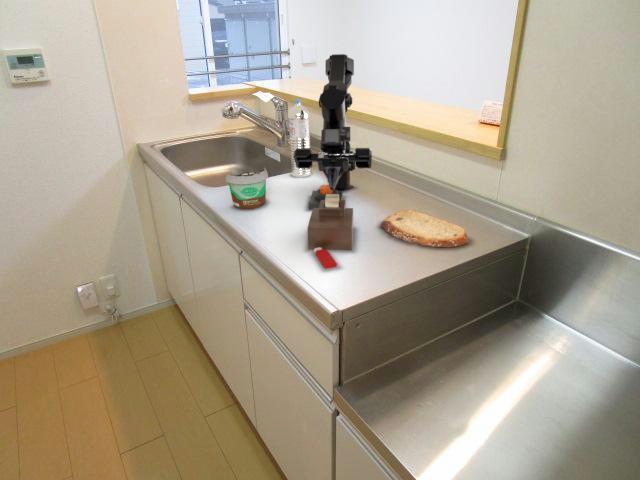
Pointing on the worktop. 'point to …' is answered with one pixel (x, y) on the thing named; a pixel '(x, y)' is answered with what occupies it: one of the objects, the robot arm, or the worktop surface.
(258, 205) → the food container
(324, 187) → the power button
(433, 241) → the bread slice
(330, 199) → the beige block
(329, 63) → the robot arm
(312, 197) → the power block
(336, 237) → the stand
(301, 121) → the water bottle
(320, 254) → the lighter
